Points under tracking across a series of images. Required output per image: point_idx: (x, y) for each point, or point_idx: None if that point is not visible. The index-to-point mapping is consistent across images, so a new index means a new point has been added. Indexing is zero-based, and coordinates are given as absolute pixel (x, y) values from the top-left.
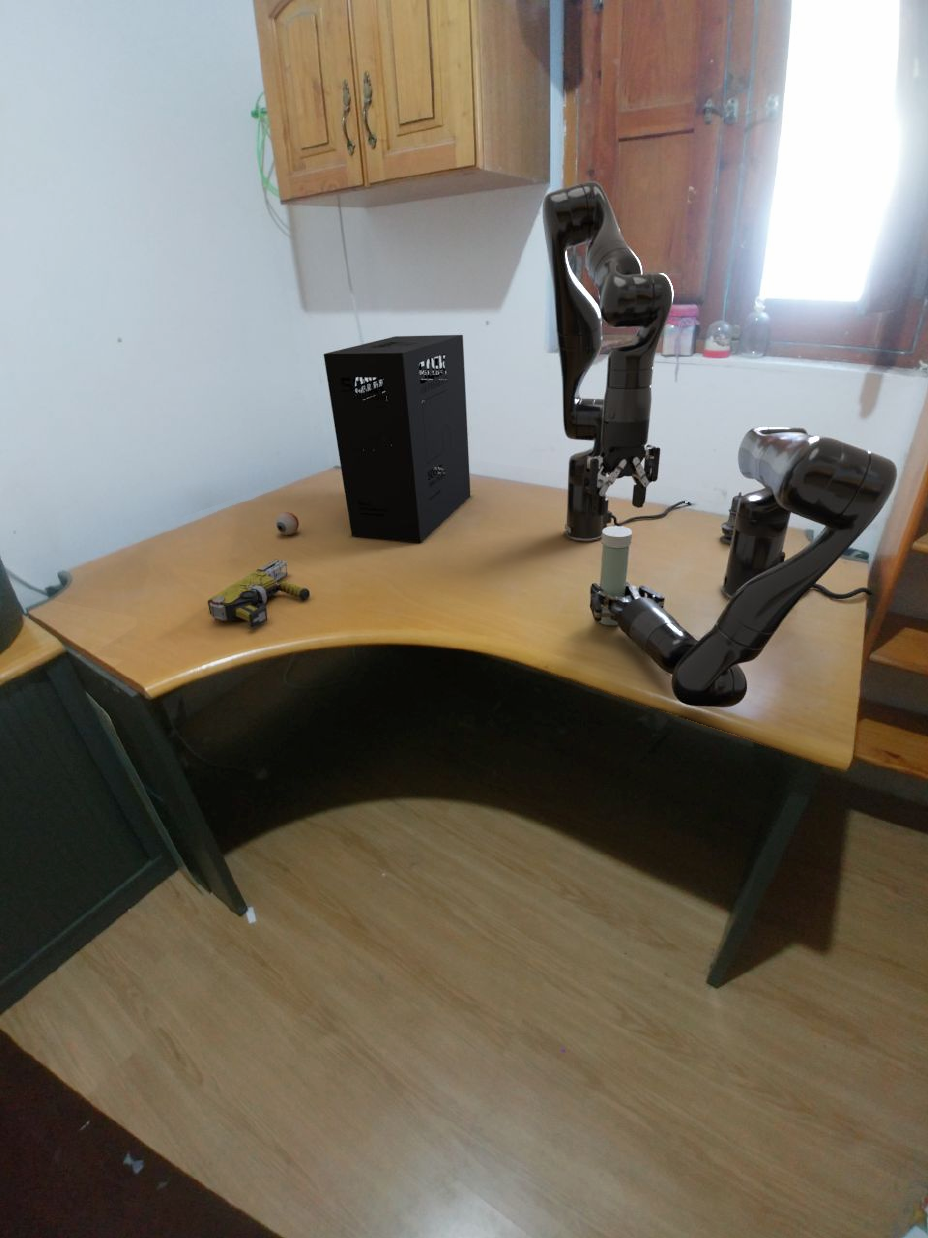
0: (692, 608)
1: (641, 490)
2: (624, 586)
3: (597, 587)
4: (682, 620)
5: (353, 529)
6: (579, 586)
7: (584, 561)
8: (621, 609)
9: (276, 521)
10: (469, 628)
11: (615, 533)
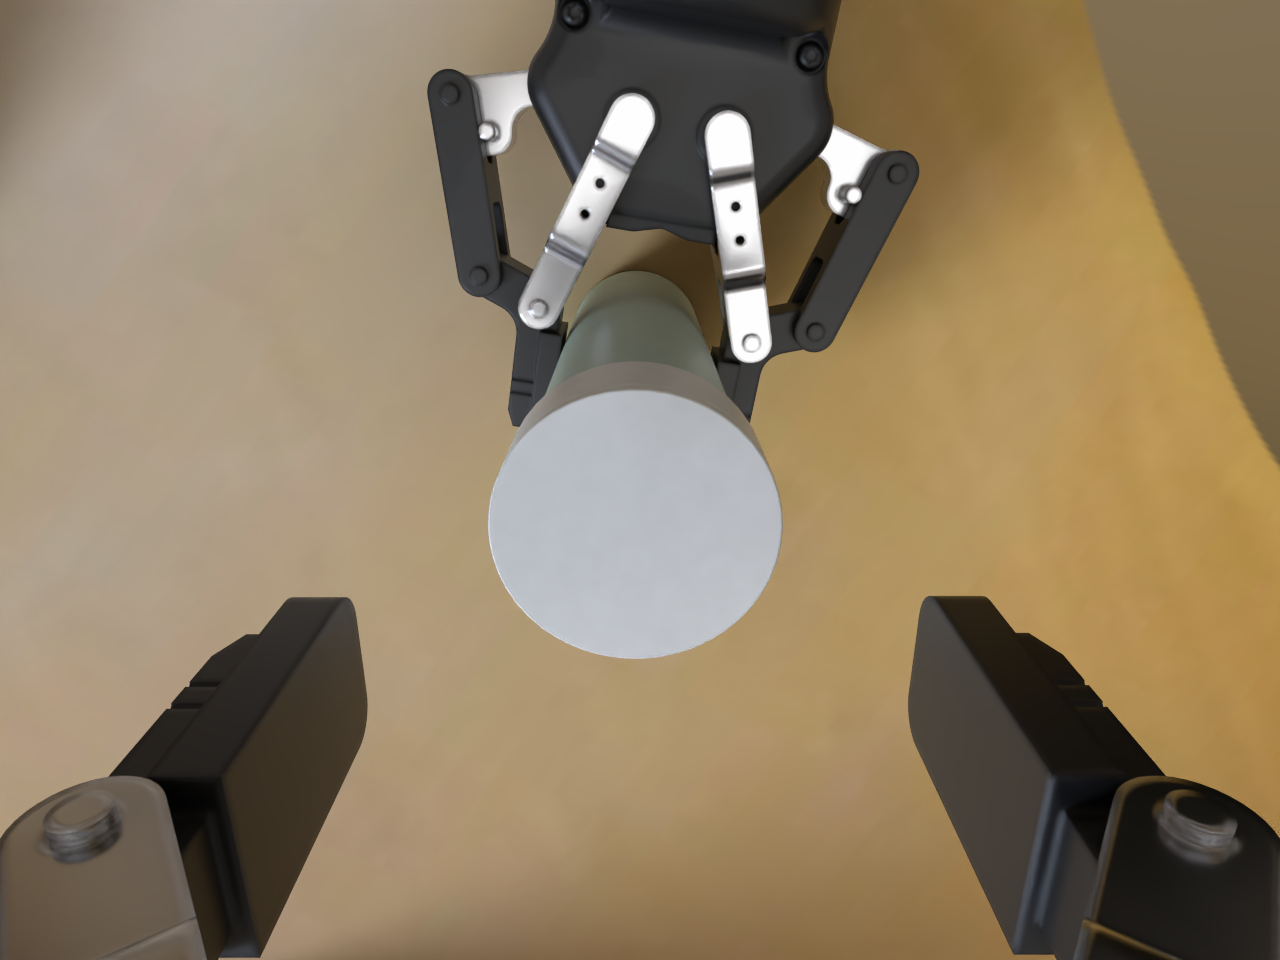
0: (176, 217)
1: (241, 746)
2: (597, 313)
3: None
4: (300, 136)
5: None
6: (576, 666)
7: (414, 847)
8: (784, 85)
9: None
10: (1240, 572)
11: (683, 497)
